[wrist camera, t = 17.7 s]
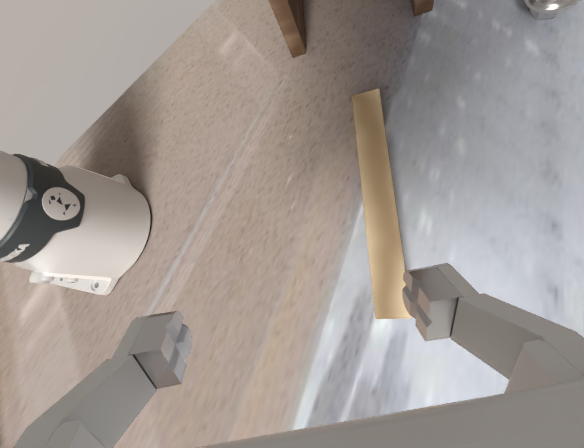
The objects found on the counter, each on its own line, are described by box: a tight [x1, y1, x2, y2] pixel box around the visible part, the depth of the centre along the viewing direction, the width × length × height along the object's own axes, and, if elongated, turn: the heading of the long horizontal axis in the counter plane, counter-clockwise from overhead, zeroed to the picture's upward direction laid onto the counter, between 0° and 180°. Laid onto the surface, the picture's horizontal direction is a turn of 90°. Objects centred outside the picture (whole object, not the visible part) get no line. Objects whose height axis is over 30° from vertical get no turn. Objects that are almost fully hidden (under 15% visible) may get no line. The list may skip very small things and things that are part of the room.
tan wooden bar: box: [352, 89, 412, 319], centre depth 29 cm, size 3×24×3 cm, turn 2°
